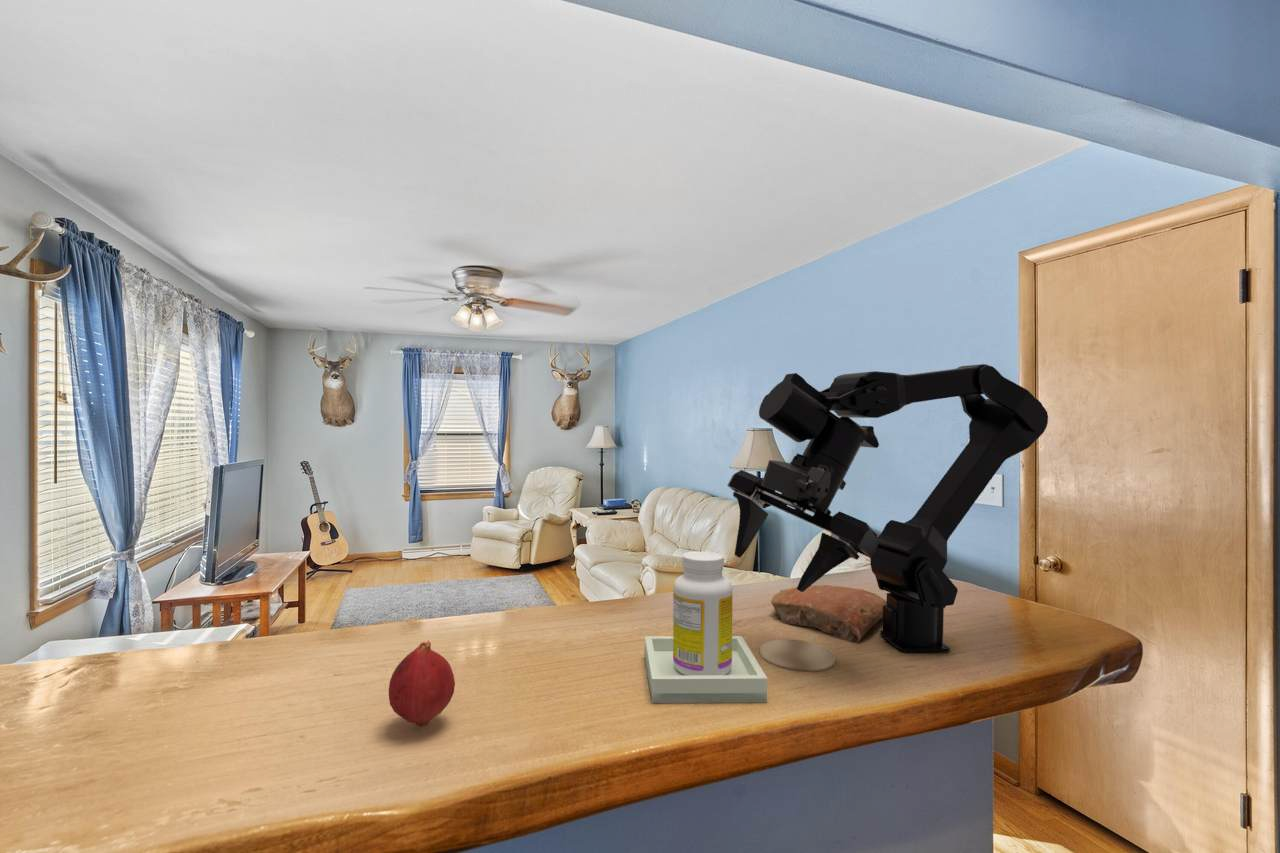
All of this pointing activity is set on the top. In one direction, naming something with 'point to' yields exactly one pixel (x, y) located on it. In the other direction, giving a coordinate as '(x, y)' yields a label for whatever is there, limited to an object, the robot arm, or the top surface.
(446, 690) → the onion
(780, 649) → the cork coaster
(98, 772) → the top surface
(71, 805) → the top surface
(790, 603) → the ceramic shard
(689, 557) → the supplement bottle
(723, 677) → the tray
